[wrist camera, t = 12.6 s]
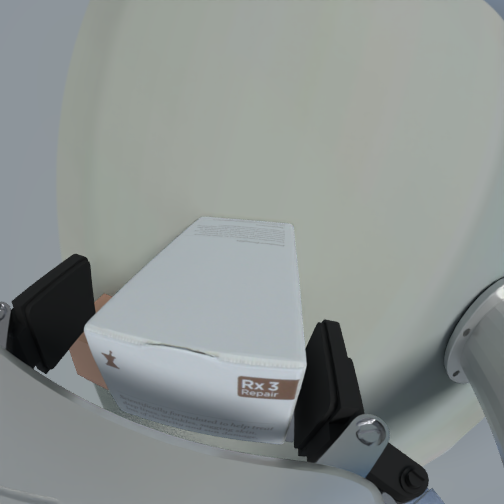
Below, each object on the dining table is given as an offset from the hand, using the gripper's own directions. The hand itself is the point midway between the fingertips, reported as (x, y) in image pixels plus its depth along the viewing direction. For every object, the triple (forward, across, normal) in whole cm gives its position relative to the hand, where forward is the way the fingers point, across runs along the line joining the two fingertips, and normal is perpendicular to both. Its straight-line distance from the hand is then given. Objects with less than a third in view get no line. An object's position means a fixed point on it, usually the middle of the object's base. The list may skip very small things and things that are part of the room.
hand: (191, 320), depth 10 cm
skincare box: (+9, -1, 0) cm, 9 cm away
